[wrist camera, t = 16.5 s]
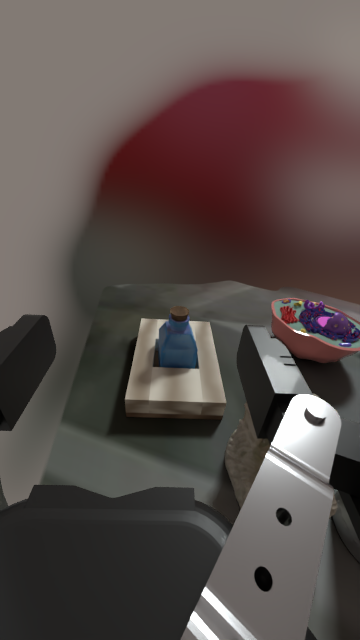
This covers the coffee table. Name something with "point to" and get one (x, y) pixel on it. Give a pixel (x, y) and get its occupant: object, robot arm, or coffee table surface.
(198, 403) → the socket plinth
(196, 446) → the coffee table surface
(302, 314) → the cell model
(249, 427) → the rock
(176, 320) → the perfume bottle
